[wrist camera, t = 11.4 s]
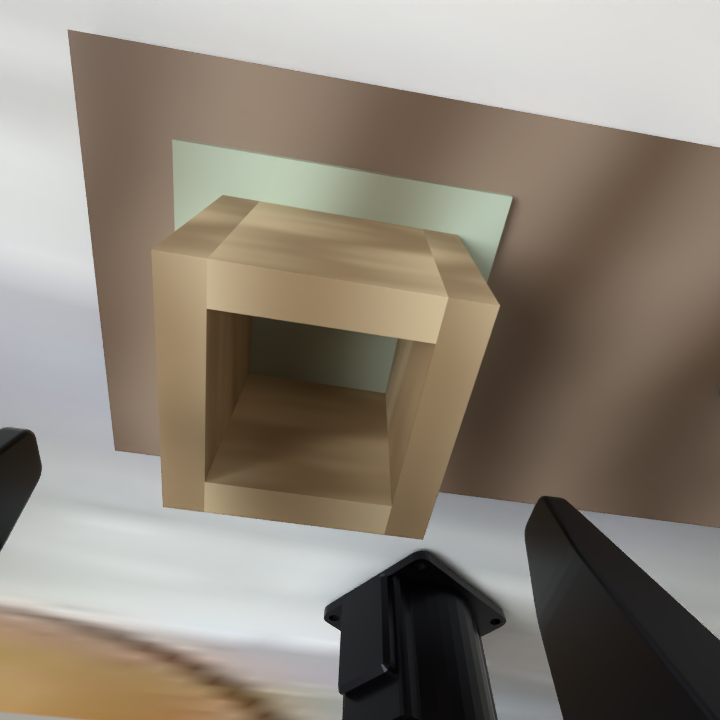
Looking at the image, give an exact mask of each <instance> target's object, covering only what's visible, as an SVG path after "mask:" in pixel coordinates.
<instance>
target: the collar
mask: <svg viewBox="0 0 720 720" xmlns="http://www.w3.org/2000/svg"><path fill="white" fill-rule="evenodd" d="M151 256H152V278H153V299H154V321H155V343H156V365H157V387H158V409H159V431H160V453H161V474H162V496H163V507H168V508H176V509H184V510H192V511H200V512H207V513H215V514H223V515H231V516H239V517H247V518H255V519H263V520H271V521H279V522H287V523H295V524H303V525H311V526H319V527H326V528H334V529H342V530H350V531H358V532H366V533H374V534H382V535H390V536H398V537H406V538H414V539H422V540H423V538H424V535H425V532H426V529H427V526H428V523H429V520H430V517H431V514H432V511H433V508H434V504H435V501H436V498H437V495H438V492H439V489H440V486H441V483H442V480H443V477H444V474H445V471H446V468H447V465H448V462H449V459H450V456H451V453H452V450H453V447H454V444H455V441H456V438H457V435H458V432H459V429H460V426H461V423H462V420H463V417H464V414H465V411H466V407H467V404H468V401H469V398H470V395H471V392H472V389H473V386H474V383H475V380H476V377H477V374H478V371H479V368H480V365H481V362H482V359H483V356H484V353H485V350H486V347H487V344H488V341H489V338H490V335H491V332H492V329H493V326H494V323H495V320H496V317H497V313H498V310H499V307H500V305H499V303H498V301H497V300H496V298H495V296H494V295H493V293H492V291H491V290H490V288H489V286H488V285H487V283H486V281H485V280H484V278H483V276H482V275H481V273H480V271H479V270H478V268H477V266H476V265H475V263H474V261H473V260H472V258H471V256H470V254H469V253H468V251H467V249H466V248H465V246H464V244H463V243H462V241H461V239H460V238H459V236H458V235H456V234H450V233H444V232H438V231H432V230H426V229H420V228H415V227H409V226H403V225H397V224H391V223H385V222H379V221H373V220H367V219H362V218H356V217H350V216H344V215H338V214H332V213H326V212H320V211H315V210H309V209H303V208H297V207H291V206H285V205H279V204H273V203H267V202H262V201H256V200H250V199H244V198H238V197H232V196H226V195H222V196H221V197H219V198H218V199H217V200H215V201H214V202H213V203H211V204H210V205H209V206H207V207H206V208H205V209H204V210H202V211H201V212H200V213H198V214H197V215H196V216H194V217H193V218H192V219H190V220H189V221H188V222H187V223H185V224H184V225H183V226H181V227H180V228H179V229H177V230H176V231H175V232H174V233H172V234H171V235H170V236H168V237H167V238H166V239H164V240H163V241H162V242H160V243H159V244H158V245H157V246H155V247H154V248H153V249H151ZM253 316H257V317H264V318H270V319H277V320H283V321H290V322H296V323H303V324H309V325H316V326H322V327H329V328H335V329H342V330H348V331H355V332H361V333H368V334H374V335H381V336H387V337H394V338H398V340H397V344H396V348H395V353H394V357H393V362H392V366H391V370H390V375H389V379H388V384H387V388H386V392H385V393H381V392H374V391H367V390H360V389H354V388H347V387H340V386H333V385H326V384H319V383H313V382H306V381H299V380H292V379H285V378H278V377H271V376H265V375H258V374H251V373H249V367H250V351H251V335H252V319H253Z"/></svg>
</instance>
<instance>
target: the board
mask: <svg viewBox="0 0 720 720" xmlns="http://www.w3.org/2000/svg"><path fill="white" fill-rule="evenodd" d="M68 37H69V46H70V55H71V64H72V73H73V82H74V91H75V100H76V108H77V117H78V126H79V135H80V144H81V153H82V162H83V171H84V179H85V188H86V197H87V206H88V215H89V224H90V233H91V241H92V250H93V259H94V268H95V277H96V286H97V295H98V304H99V312H100V321H101V330H102V339H103V348H104V357H105V366H106V375H107V383H108V392H109V401H110V410H111V419H112V428H113V437H114V445H115V451H123V452H131V453H139V454H146V455H154V456H161V453H160V431H159V409H158V387H157V365H156V343H155V321H154V299H153V278H152V256H151V249H153V248H154V247H155V246H157V245H158V244H159V243H160V242H162V241H163V240H164V239H166V238H167V237H168V236H170V235H171V234H172V233H174V232H175V231H176V230H177V229H179V228H180V227H181V226H183V225H184V224H185V223H187V222H188V221H189V220H190V219H192V218H193V217H194V216H196V215H197V214H198V213H200V212H201V211H202V210H204V209H205V208H206V207H207V206H209V205H210V204H211V203H213V202H214V201H215V200H217V199H218V198H219V197H221V196H222V195H226V196H232V197H238V198H244V199H250V200H256V201H262V202H267V203H273V204H279V205H285V206H291V207H297V208H303V209H309V210H315V211H320V212H326V213H332V214H338V215H344V216H350V217H356V218H362V219H367V220H373V221H379V222H385V223H391V224H397V225H403V226H409V227H415V228H420V229H426V230H432V231H438V232H444V233H450V234H456V235H458V236H459V238H460V239H461V241H462V243H463V244H464V246H465V248H466V249H467V251H468V253H469V254H470V256H471V258H472V260H473V261H474V263H475V265H476V266H477V268H478V270H479V271H480V273H481V275H482V276H483V278H484V280H485V281H486V283H487V285H488V286H489V288H490V290H491V291H492V293H493V295H494V296H495V298H496V300H497V301H498V303H499V305H500V307H499V310H498V313H497V317H496V320H495V323H494V326H493V329H492V332H491V335H490V338H489V341H488V344H487V347H486V350H485V353H484V356H483V359H482V362H481V365H480V368H479V371H478V374H477V377H476V380H475V383H474V386H473V389H472V392H471V395H470V398H469V401H468V404H467V407H466V411H465V414H464V417H463V420H462V423H461V426H460V429H459V432H458V435H457V438H456V441H455V444H454V447H453V450H452V453H451V456H450V459H449V462H448V465H447V468H446V471H445V474H444V477H443V480H442V483H441V486H440V489H439V492H443V493H451V494H459V495H467V496H475V497H483V498H490V499H498V500H506V501H514V502H522V503H529V504H536V503H537V501H538V499H539V498H540V497H541V496H553V497H561V498H564V499H566V500H567V501H568V502H569V503H570V504H571V505H572V506H574V507H575V508H576V509H577V510H584V511H592V512H600V513H608V514H615V515H623V516H631V517H639V518H647V519H655V520H662V521H670V522H678V523H686V524H694V525H701V526H709V527H717V528H720V148H719V147H713V146H707V145H702V144H696V143H691V142H685V141H680V140H674V139H669V138H663V137H658V136H652V135H647V134H641V133H636V132H630V131H625V130H619V129H614V128H608V127H603V126H597V125H592V124H586V123H581V122H575V121H569V120H564V119H558V118H553V117H547V116H542V115H536V114H531V113H525V112H520V111H514V110H509V109H503V108H498V107H492V106H487V105H481V104H476V103H470V102H465V101H459V100H454V99H448V98H443V97H437V96H432V95H426V94H420V93H415V92H409V91H404V90H398V89H393V88H387V87H382V86H376V85H371V84H365V83H360V82H354V81H349V80H343V79H338V78H332V77H327V76H321V75H316V74H310V73H305V72H299V71H294V70H288V69H283V68H277V67H271V66H266V65H260V64H255V63H249V62H244V61H238V60H233V59H227V58H222V57H216V56H211V55H205V54H200V53H194V52H189V51H183V50H178V49H172V48H167V47H161V46H156V45H150V44H145V43H139V42H134V41H128V40H122V39H117V38H111V37H106V36H100V35H95V34H89V33H84V32H78V31H73V30H68ZM397 340H398V338H394V337H387V336H381V335H374V334H368V333H361V332H355V331H348V330H342V329H335V328H329V327H322V326H316V325H309V324H303V323H296V322H290V321H283V320H277V319H270V318H264V317H257V316H253V319H252V335H251V351H250V367H249V373H251V374H258V375H265V376H271V377H278V378H285V379H292V380H299V381H306V382H313V383H319V384H326V385H333V386H340V387H347V388H354V389H360V390H367V391H374V392H381V393H385V392H386V388H387V384H388V379H389V375H390V370H391V366H392V362H393V357H394V353H395V348H396V344H397Z"/></svg>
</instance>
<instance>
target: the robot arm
mask: <svg viewBox="0 0 720 720" xmlns="http://www.w3.org/2000/svg"><path fill="white" fill-rule="evenodd" d="M41 471H42V464H41V459H40V455H39V450H38V446H37V441H36V437H35V434H34V433H33V432H32V431H30V430H28V429H20V428H12V427H6V428H2V429H0V552H1V550H2V548H3V546H4V544H5V543H6V541H7V539H8V537H9V535H10V533H11V531H12V529H13V528H14V526H15V524H16V522H17V520H18V518H19V516H20V515H21V513H22V511H23V509H24V507H25V505H26V503H27V501H28V500H29V498H30V496H31V494H32V492H33V490H34V488H35V486H36V485H37V483H38V481H39V479H40V476H41ZM525 544H526V550H527V557H528V563H529V570H530V576H531V583H532V589H533V596H534V602H535V608H536V614H537V619H538V624H539V628H540V632H541V636H542V640H543V644H544V647H545V651H546V655H547V659H548V663H549V666H550V670H551V674H552V678H553V682H554V685H555V689H556V693H557V697H558V701H559V704H560V708H561V712H562V716H563V720H720V640H719V639H718V638H717V637H715V636H714V635H713V634H712V633H711V632H710V631H709V630H708V629H707V628H706V627H705V626H703V625H702V624H701V623H700V622H699V621H698V620H697V619H696V618H695V617H694V616H693V615H691V614H690V613H689V612H688V611H687V610H686V609H685V608H684V607H683V606H682V605H681V604H679V603H678V602H677V601H676V600H675V599H674V598H673V597H672V596H671V595H670V594H669V593H667V592H666V591H665V590H664V589H663V588H662V587H661V586H660V585H659V584H658V583H656V582H655V581H654V580H653V579H652V578H651V577H650V576H649V575H648V574H647V573H646V572H644V571H643V570H642V569H641V568H640V567H639V566H638V565H637V564H636V563H635V562H634V561H632V560H631V559H630V558H629V557H628V556H627V555H626V554H625V553H624V552H623V551H622V550H620V549H619V548H618V547H617V546H616V545H615V544H614V543H613V542H612V541H611V540H610V539H608V538H607V537H606V536H605V535H604V534H603V533H602V532H601V531H600V530H599V529H598V528H596V527H595V526H594V525H593V524H592V523H591V522H590V521H589V520H588V519H587V518H586V517H584V516H583V515H582V514H581V513H580V512H579V511H578V510H577V509H576V508H575V507H574V506H572V505H571V504H570V503H569V502H568V501H567V500H566V499H564V498H561V497H553V496H541V497H540V498H539V499H538V501H537V503H536V505H535V507H534V509H533V511H532V514H531V516H530V518H529V520H528V522H527V524H526V528H525ZM324 620H325V621H326V622H327V623H329V624H331V625H332V626H334V627H335V628H337V629H339V630H340V631H341V640H340V660H339V681H338V689H339V693H340V694H342V695H343V719H342V720H498V718H497V714H496V709H495V704H494V699H493V694H492V689H491V684H490V679H489V674H488V670H487V665H486V660H485V655H484V650H483V645H482V640H481V636H483V635H485V634H487V633H489V632H491V631H493V630H495V629H497V628H499V627H501V626H503V625H504V624H505V622H506V619H505V615H504V612H503V610H502V609H500V608H499V607H498V606H496V605H495V604H494V603H493V602H491V601H490V600H489V599H487V598H486V597H485V596H483V595H482V594H481V593H479V592H478V591H477V590H476V589H474V588H473V587H472V586H470V585H469V584H468V583H466V582H465V581H464V580H463V579H461V578H460V577H459V576H457V575H456V574H455V573H453V572H452V571H451V570H449V569H448V568H447V567H446V566H444V565H443V564H442V563H440V562H439V561H438V560H436V559H435V558H434V557H432V556H431V555H430V554H428V553H426V552H423V551H418V552H415V553H413V554H411V555H409V556H408V557H406V558H404V559H403V560H401V561H399V562H398V563H396V564H395V565H393V566H391V567H390V568H388V569H386V570H385V571H383V572H381V573H380V574H378V575H377V576H375V577H373V578H372V579H370V580H368V581H367V582H365V583H364V584H362V585H360V586H359V587H357V588H355V589H354V590H352V591H350V592H349V593H347V594H346V595H344V596H342V597H341V598H339V599H337V600H336V601H334V602H333V603H331V604H329V605H328V606H326V607H325V611H324Z"/></svg>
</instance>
